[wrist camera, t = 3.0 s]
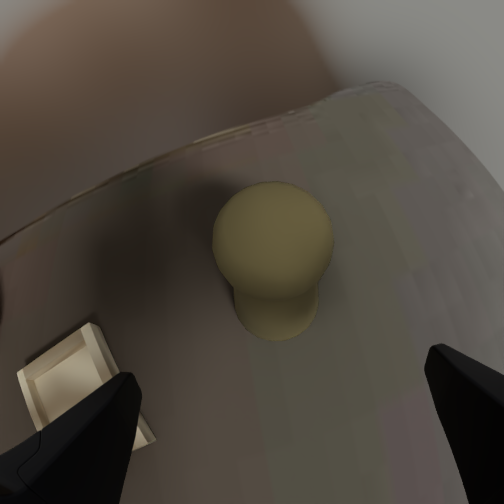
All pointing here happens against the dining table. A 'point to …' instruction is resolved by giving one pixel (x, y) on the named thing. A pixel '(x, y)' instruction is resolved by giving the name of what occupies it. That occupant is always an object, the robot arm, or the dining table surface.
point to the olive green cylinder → (273, 256)
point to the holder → (72, 378)
